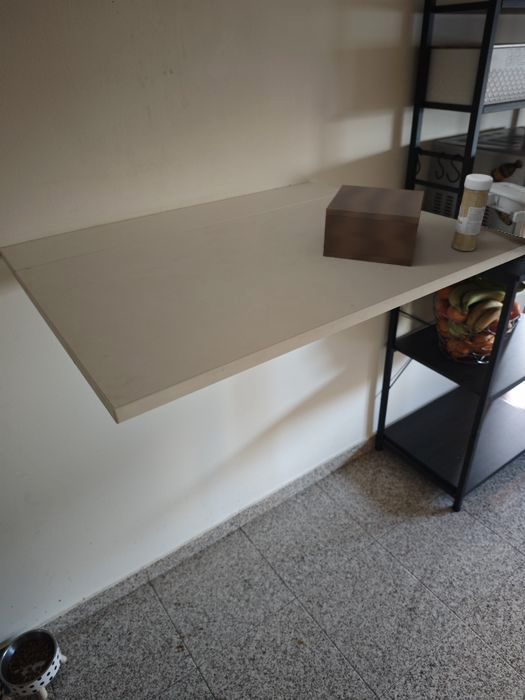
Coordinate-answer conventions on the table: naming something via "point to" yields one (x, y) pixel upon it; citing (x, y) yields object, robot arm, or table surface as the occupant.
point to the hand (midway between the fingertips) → (493, 209)
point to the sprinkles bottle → (471, 211)
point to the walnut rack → (373, 224)
